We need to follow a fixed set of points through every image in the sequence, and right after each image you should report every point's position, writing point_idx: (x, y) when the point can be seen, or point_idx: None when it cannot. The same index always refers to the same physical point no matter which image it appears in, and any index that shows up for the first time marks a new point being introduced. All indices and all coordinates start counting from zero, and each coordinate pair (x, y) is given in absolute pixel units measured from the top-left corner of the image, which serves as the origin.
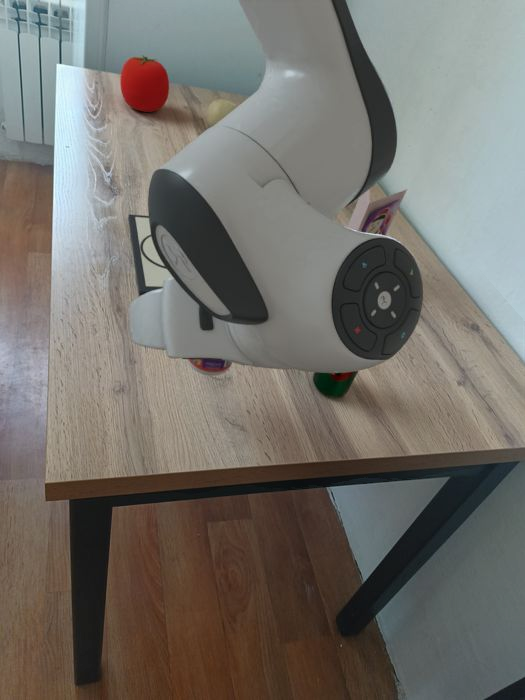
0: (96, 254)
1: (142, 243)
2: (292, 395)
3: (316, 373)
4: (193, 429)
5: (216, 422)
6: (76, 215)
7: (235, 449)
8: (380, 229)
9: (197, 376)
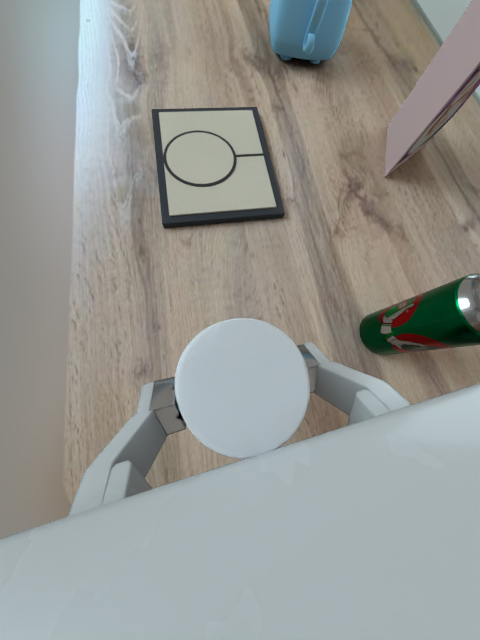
0: (117, 173)
1: (165, 151)
2: (334, 354)
3: (368, 330)
4: None
5: None
6: (96, 119)
7: None
8: (473, 86)
9: None
